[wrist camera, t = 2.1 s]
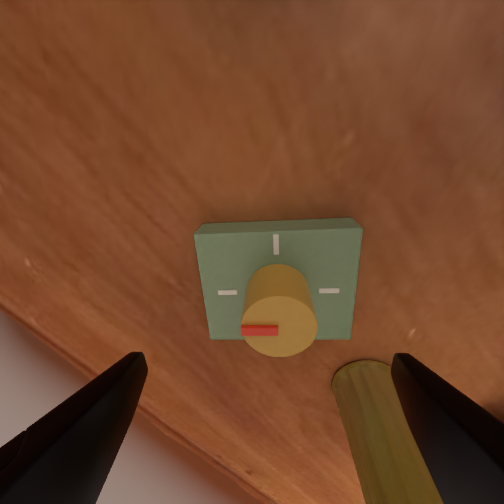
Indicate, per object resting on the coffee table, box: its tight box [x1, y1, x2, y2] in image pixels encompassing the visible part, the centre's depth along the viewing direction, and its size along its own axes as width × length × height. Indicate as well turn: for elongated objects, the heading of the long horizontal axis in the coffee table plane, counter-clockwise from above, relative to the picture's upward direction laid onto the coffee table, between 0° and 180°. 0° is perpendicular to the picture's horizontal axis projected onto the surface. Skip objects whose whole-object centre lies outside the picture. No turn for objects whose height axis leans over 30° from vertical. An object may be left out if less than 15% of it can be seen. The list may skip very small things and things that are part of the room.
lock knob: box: [241, 264, 318, 357], centre depth 16 cm, size 4×4×4 cm
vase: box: [332, 360, 443, 504], centre depth 18 cm, size 6×6×14 cm
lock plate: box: [194, 217, 363, 339], centre depth 19 cm, size 11×9×3 cm
